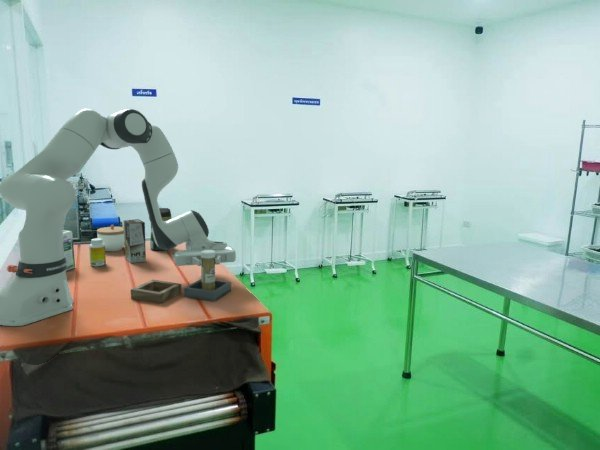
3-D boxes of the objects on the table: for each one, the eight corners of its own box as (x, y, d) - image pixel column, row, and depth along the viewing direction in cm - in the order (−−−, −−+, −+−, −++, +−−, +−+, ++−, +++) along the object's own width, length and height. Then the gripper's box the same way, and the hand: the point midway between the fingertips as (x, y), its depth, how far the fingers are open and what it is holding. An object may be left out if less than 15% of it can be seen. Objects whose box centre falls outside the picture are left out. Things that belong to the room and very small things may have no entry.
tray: (214, 301, 141) (214, 292, 140) (184, 296, 144) (183, 287, 144) (231, 290, 151) (231, 282, 150) (202, 286, 154) (202, 278, 154)
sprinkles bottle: (211, 293, 145) (211, 253, 143) (198, 292, 146) (198, 252, 144) (217, 289, 149) (217, 250, 147) (205, 288, 151) (204, 248, 148)
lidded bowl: (94, 253, 194) (92, 227, 191) (102, 246, 206) (100, 222, 204) (125, 252, 196) (123, 227, 193) (131, 245, 208) (130, 222, 206)
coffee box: (146, 261, 183) (145, 222, 180) (130, 263, 180) (128, 223, 176) (140, 256, 190) (139, 218, 187) (124, 258, 187) (122, 219, 184)
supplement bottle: (107, 265, 176) (106, 239, 174) (92, 267, 173) (91, 241, 171) (103, 262, 180) (102, 237, 178) (88, 264, 177) (87, 238, 175)
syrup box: (64, 272, 166) (62, 233, 163) (51, 270, 167) (48, 232, 164) (75, 267, 171) (73, 230, 169) (61, 266, 173) (59, 229, 170)
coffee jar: (170, 245, 210) (169, 206, 206) (174, 249, 203) (173, 209, 200) (148, 247, 205) (147, 207, 202) (151, 251, 199) (150, 210, 195)
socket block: (160, 303, 138) (160, 294, 137) (131, 298, 141) (130, 289, 141) (181, 292, 148) (181, 283, 147) (153, 288, 151) (152, 279, 151)
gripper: (170, 245, 153) (175, 255, 141) (230, 241, 160) (239, 251, 148) (171, 263, 154) (175, 274, 142) (230, 259, 162) (239, 269, 149)
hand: (208, 262), depth 145 cm, fingers open, 4 cm apart
